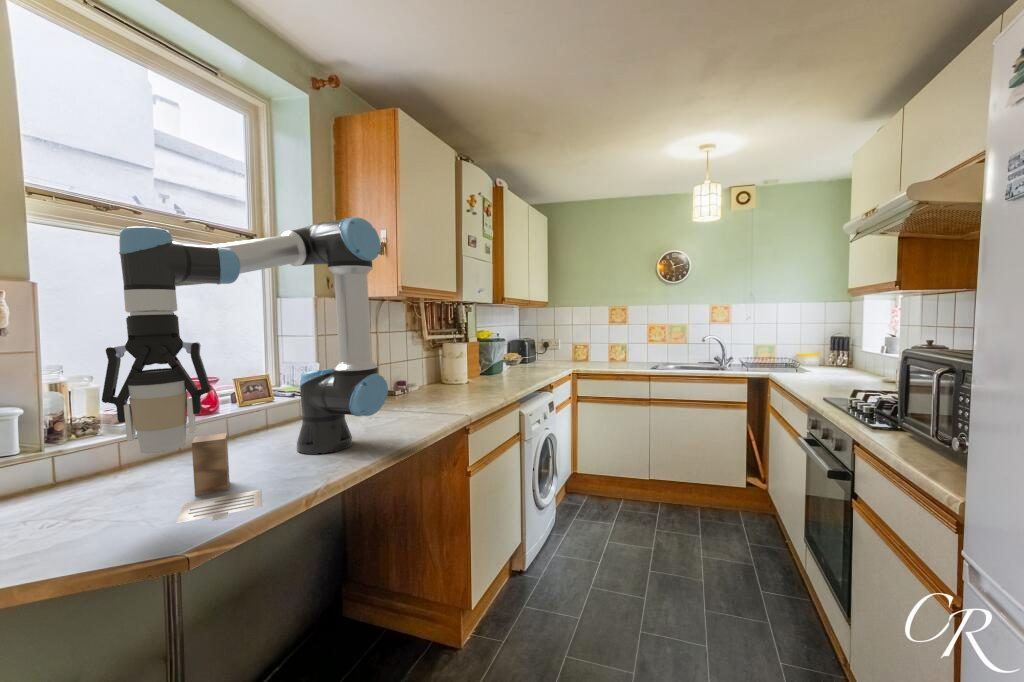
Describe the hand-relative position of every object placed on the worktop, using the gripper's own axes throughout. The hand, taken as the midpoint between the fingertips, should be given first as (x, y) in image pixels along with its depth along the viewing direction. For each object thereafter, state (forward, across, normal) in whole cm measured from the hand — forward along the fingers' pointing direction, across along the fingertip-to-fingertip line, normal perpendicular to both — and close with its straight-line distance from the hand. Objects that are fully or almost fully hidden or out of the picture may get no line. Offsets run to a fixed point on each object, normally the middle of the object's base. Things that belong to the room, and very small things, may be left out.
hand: (163, 435), depth 86 cm
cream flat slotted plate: (+17, -8, -2) cm, 19 cm away
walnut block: (+17, -6, -14) cm, 23 cm away
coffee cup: (+3, 0, 0) cm, 3 cm away
